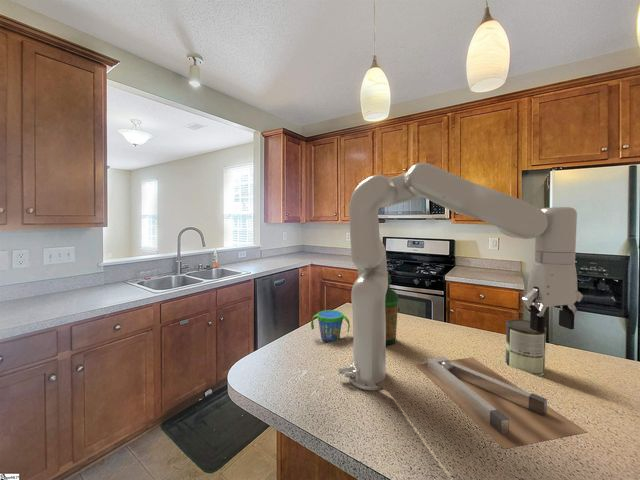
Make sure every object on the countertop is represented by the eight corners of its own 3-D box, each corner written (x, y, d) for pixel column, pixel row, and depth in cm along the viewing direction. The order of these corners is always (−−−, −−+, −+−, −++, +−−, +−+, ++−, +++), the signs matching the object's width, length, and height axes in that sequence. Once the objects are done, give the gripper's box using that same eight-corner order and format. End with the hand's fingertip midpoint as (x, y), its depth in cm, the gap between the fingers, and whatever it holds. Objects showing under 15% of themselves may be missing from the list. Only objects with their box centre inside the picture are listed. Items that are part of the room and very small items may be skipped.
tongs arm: (439, 372, 84) (439, 362, 84) (446, 368, 86) (446, 358, 86) (541, 419, 64) (541, 405, 64) (546, 412, 66) (547, 399, 66)
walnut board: (503, 456, 56) (504, 448, 56) (414, 369, 90) (414, 364, 89) (587, 438, 60) (587, 432, 60) (472, 361, 94) (472, 357, 94)
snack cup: (352, 335, 117) (351, 311, 116) (346, 346, 107) (346, 320, 106) (316, 331, 122) (316, 308, 121) (307, 341, 112) (307, 316, 111)
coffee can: (497, 360, 94) (498, 319, 93) (527, 359, 95) (529, 318, 94) (520, 377, 84) (522, 331, 83) (554, 376, 84) (556, 330, 83)
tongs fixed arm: (427, 368, 87) (427, 358, 87) (444, 366, 88) (444, 356, 88) (500, 434, 60) (501, 420, 60) (524, 429, 61) (524, 415, 61)
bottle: (400, 351, 102) (400, 275, 100) (370, 349, 103) (369, 274, 102) (396, 339, 112) (396, 269, 110) (369, 338, 114) (369, 269, 112)
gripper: (567, 255, 73) (564, 320, 75) (510, 258, 70) (508, 326, 71) (600, 258, 66) (597, 331, 67) (539, 262, 63) (536, 338, 64)
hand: (551, 328), depth 69 cm, fingers open, 8 cm apart
